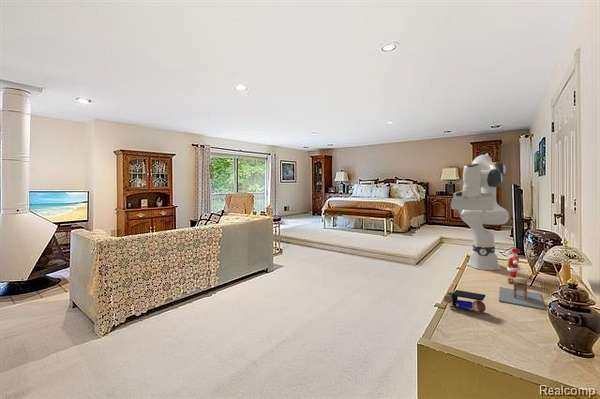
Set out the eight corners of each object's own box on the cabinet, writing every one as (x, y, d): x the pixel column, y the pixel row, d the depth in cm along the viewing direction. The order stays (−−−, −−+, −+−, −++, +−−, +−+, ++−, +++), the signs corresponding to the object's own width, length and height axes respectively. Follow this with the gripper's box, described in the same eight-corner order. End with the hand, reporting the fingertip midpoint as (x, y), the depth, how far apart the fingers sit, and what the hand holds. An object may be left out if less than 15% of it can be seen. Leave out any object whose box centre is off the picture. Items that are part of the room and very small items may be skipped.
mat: (499, 288, 145) (499, 287, 145) (540, 294, 135) (540, 293, 135) (498, 301, 129) (498, 300, 129) (544, 309, 119) (545, 308, 119)
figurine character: (444, 310, 125) (484, 316, 114) (442, 293, 125) (482, 297, 115) (448, 305, 130) (487, 310, 120) (446, 288, 130) (485, 292, 120)
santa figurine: (506, 275, 165) (506, 243, 164) (519, 276, 161) (519, 244, 160) (507, 288, 144) (507, 252, 143) (521, 290, 141) (522, 253, 140)
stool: (513, 293, 136) (513, 276, 135) (526, 296, 133) (527, 278, 132) (513, 297, 131) (513, 279, 131) (527, 299, 128) (527, 281, 128)
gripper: (494, 192, 151) (494, 218, 152) (452, 193, 164) (452, 216, 164) (494, 193, 146) (494, 219, 147) (450, 193, 159) (450, 217, 159)
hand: (471, 218), depth 156 cm, fingers open, 8 cm apart
